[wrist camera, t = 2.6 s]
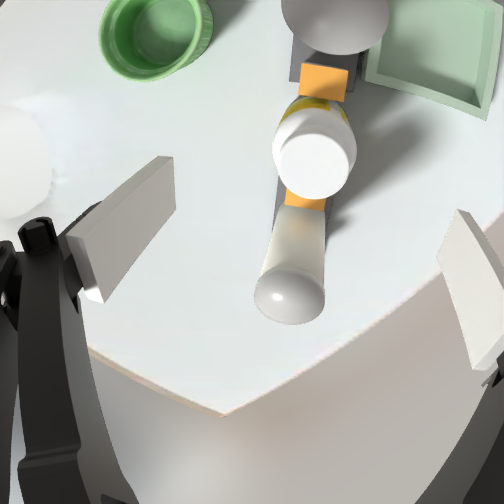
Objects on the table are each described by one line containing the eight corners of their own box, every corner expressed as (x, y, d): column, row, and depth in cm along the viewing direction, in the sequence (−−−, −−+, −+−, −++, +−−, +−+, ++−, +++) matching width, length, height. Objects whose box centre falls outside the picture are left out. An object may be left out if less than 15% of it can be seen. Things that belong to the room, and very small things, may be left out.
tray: (372, -37, 14) (377, -45, 12) (489, 8, 13) (503, 6, 11) (360, 78, 20) (364, 81, 19) (473, 113, 19) (486, 121, 17)
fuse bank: (299, -31, 16) (283, -87, 7) (364, -20, 15) (398, -68, 6) (270, 249, 32) (246, 339, 23) (318, 258, 32) (310, 351, 23)
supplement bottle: (271, 132, 25) (246, 177, 17) (305, 81, 22) (298, 98, 14) (323, 166, 26) (324, 226, 18) (361, 119, 23) (382, 158, 15)
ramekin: (239, 1, 18) (223, -8, 15) (194, 90, 24) (172, 99, 20) (149, -26, 17) (122, -33, 14) (114, 58, 23) (85, 64, 19)
